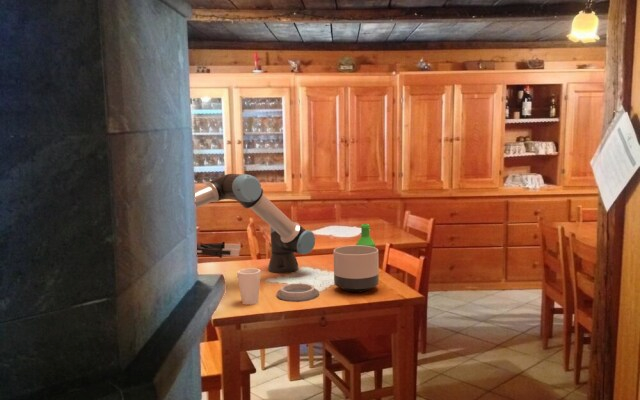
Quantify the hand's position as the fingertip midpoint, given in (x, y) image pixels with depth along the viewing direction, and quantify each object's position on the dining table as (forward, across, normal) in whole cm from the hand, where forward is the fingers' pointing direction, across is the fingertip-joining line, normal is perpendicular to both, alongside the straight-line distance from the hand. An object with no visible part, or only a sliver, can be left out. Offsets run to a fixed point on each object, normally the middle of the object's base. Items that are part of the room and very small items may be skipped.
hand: (239, 250), depth 217 cm
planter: (+50, -10, -18) cm, 54 cm away
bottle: (+59, -31, -16) cm, 68 cm away
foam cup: (+5, -1, -22) cm, 22 cm away
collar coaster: (+25, -7, -20) cm, 32 cm away
